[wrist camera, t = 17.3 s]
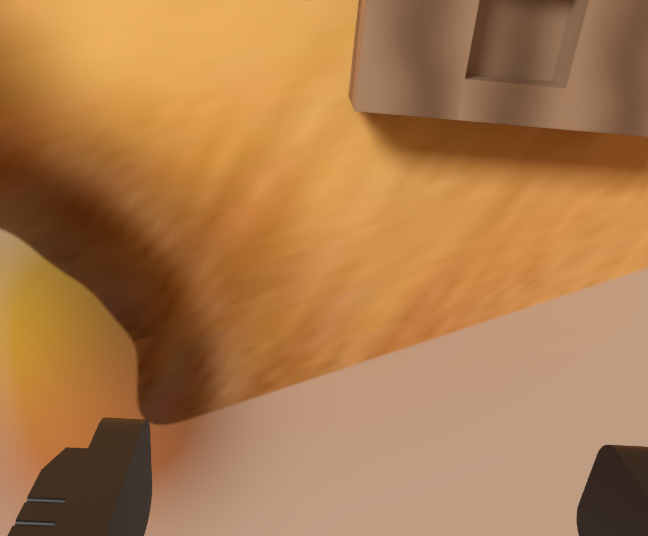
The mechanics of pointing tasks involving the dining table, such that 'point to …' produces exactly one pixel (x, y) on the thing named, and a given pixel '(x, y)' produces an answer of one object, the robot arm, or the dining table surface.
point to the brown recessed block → (505, 62)
